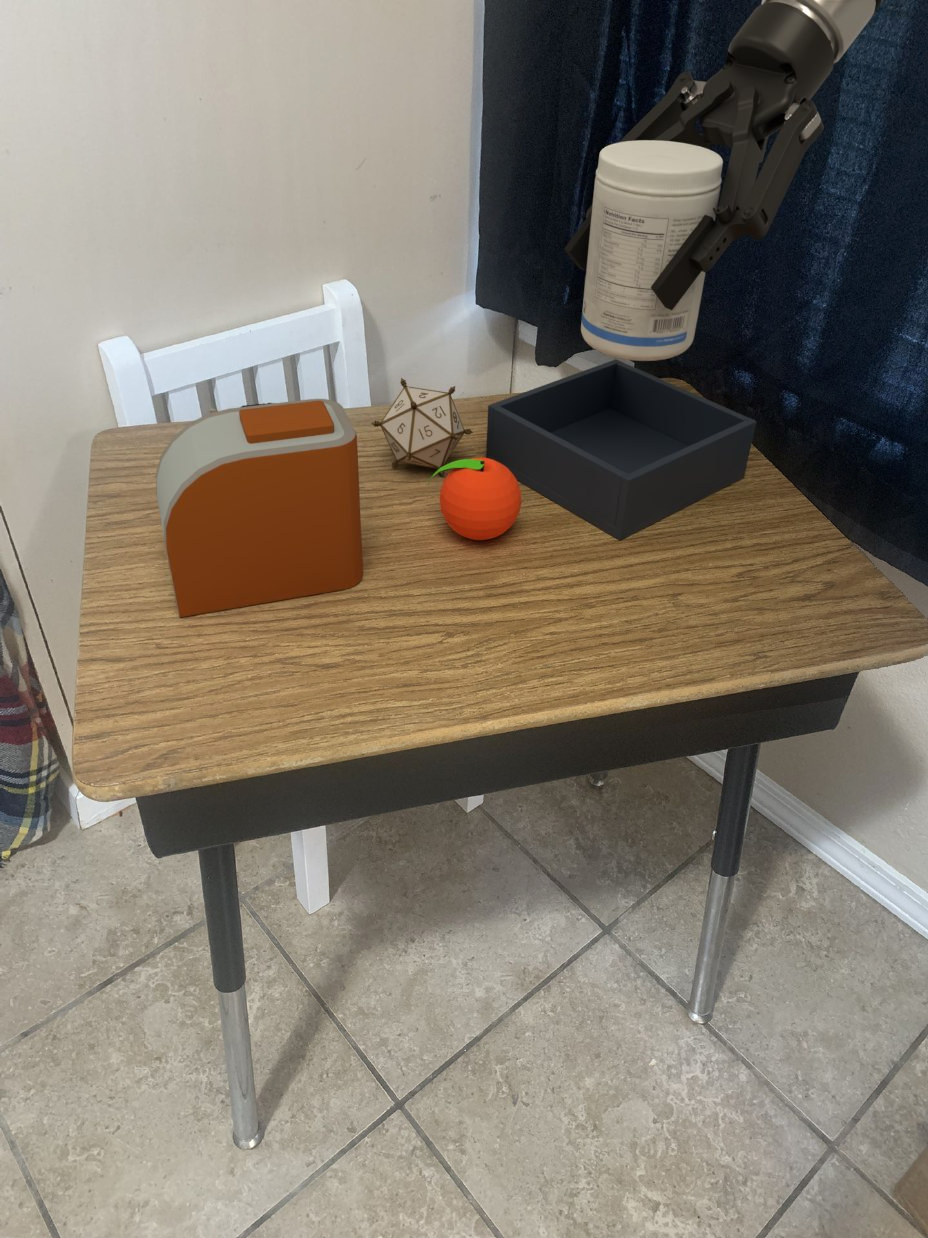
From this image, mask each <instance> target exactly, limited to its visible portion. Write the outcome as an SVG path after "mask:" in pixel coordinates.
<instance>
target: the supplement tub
mask: <svg viewBox="0 0 928 1238" xmlns="http://www.w3.org/2000/svg"><path fill="white" fill-rule="evenodd" d="M597 163H598V164H597V168H596V170H595V178H594V187H593V188H594V189H593V197H592V204H593V206H592V217H591V227H590V238H589V248H588V259H587V269H586V271H585V278H584V290H583V301H582V302H583V303H582V309H581V310H582V312H581V324H580V332H581V335H582V338H583V339H584V342H586V344H588V346H590V347H591V348H592V349H594V350H595V351H598V352H599V353H601V354H604V355H606V356H610V357H613V358H617V359H621V360H627V361H637V362H652V361H662V360H667V359H671V358H675V357H677V356H679V355H681V354H683V353H684V352H686V351H687V350H688V349H689V348H690V347H691V345H692V344H693V342H694V339H695V334H696V329H697V324H698V318H699V313H700V306H701V300H702V295H703V289H704V283H705V280H706V279H705V278H706V273H705V272H702V271H701V273H700V274H699V275H698V277H697V278H696V279H695V281H694V282H693V283H692V285H691V286H690V287H689V289H688V290H687V291H686V293H685V294H684V295H683V297H682V298H681V299H680V301H679V302H678V303H677V305H676V306H675V307H674V309H673V310H670V309H667V308H665V307H664V305H663V304H662V302H661V301H660V300H659V298H658V297H657V296H656V294H655V293H654V291H653V290H652V289H651V286H652V285H653V283H654V282H655V281H656V279H657V278H658V277H659V275H660V274H661V273H662V271H663V270H664V269H665V267H666V266H667V265H668V263H669V262H670V260H671V259H672V258H673V256H674V255H675V254H676V252H677V251H678V250H679V248H680V247H681V246H682V244H683V243H684V242H685V240H686V239H687V238H688V236H689V235H690V234H691V232H692V231H693V230H694V229H695V228H696V226H697V225H698V224H699V222H700V221H701V220H702V218H703V217H704V215H708V216H710V217H712V218H713V219H714V221H715V220H716V215H715V213H714V211H713V208H715V209H716V211H718V210H717V208H716V207H718V206H719V200H720V195H721V193H720V192H721V184H722V181H723V179H722V171H723V166H724V165H723V164H724V161H723V158H722V157H721V155H720V154H719V153H717V152H715V151H713V150H711V149H709V148H707V149H706V148H703V147H699V146H695V145H691V144H686V143H679V142H672V141H657V140H638V141H626V142H620V141H618V142H616V143H612V144H609V145H606V146H604V148H602V149H601V150H600V152H599V156H598V162H597ZM715 222H716V221H715Z"/></svg>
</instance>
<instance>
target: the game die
mask: <svg viewBox="0 0 928 1238" xmlns="http://www.w3.org/2000/svg"><path fill="white" fill-rule="evenodd" d="M399 384H400V385H401V386H402V387H403V388H402V389H401V391H400V392H399V394H398V395H397V397H396V398H395V400H394V401H393V403H392V404H391V406H390V407H389V409H388V410H387V412H386V413H385V415H384V417H382V419H381V421H379V420H377V421H376V420H374V421H372V422H370V424H371V425H372V426H373V427H377V428H378V427H380V428H381V430H382V433H383V435H384V436H385V437H384V438H385V439H386V441H387V443H388V446H389V448H390V450H391V452H392V454H393V456H394V459H395V460H393V461H392V462H391V469H393V468H397V467H398V466H399V463H402V464H407V465H414V466H418V467H419V466H420V467H425V468H431V469H436V470H438V469H439V468H441V467H443V466H445V465H446V462H447V461H448V460H449V458H450V456H451V455H452V453H453V452H454V450H455V449H456V447H457V446H458V444H459V443H460V441H461V440H462V439H463V436H464V434H465V435H468V436H470V435H471V434H473V433H474V431H473V430H471V428H466V429H465V428H464V425H463V423H462V420H461V417H460V414H459V412H458V410H457V407H456V404H455V402H454V399H453V397H452V395H453V394H454V393H455V392H456V385H454V386H451V387H449V389H448V392H447V391H442V390H441V391H440V390H434V389H427V388H420V387H414V386H408V384H407V381H406V379H404V378H402V377H400V382H399ZM439 475H440V476H442V477H443V478H446V470H443V471H440V472H439Z"/></svg>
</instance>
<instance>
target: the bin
mask: <svg viewBox="0 0 928 1238" xmlns="http://www.w3.org/2000/svg"><path fill="white" fill-rule="evenodd" d="M487 405H488V406H487V423H486V425H487V426H486V445H485V446H486V447H485V448H486V449H485V458H489V459H492V460H495V461H497V462H499V463H501V464H503V465H504V466H506V467H507V468H508V469H509V470H510V471H511V472H512V474H513V475H514V476H515V478H516V479H517V482H518V483H520V484H522V485H524V486H526V487H527V488H530V489H531V490H533V491H534V492H537V493H538V494H540V495H541V496H543V497H545V498H546V499H548V500H550V501H552V502H553V503H555V504H557V505H559V506H560V507H562V508H564V509H565V510H567V511H568V512H570V513H572V514H574V515H575V516H577V517H579V518H581V519H582V520H584V521H586V522H588V523H589V524H591V525H592V526H595V527H596V528H598V529H600V530H601V531H603V532H604V533H606V534H607V535H610V536H611V537H613V538H615V539H617V540H618V541H622V540H624V539H626V538H627V537H630V536H632V535H634V534H637V533H638V532H640V531H642V530H644V529H646V528H648V527H650V526H653V525H654V524H656V523H658V522H660V521H661V520H664V519H666V518H667V517H670V516H671V515H674V514H676V513H678V512H679V511H682V510H683V509H685V508H687V507H689V506H692V505H693V504H695V503H697V502H699V501H701V500H703V499H705V498H707V497H709V496H711V495H713V494H715V493H716V492H719V491H721V490H723V489H724V488H727V487H729V486H731V485H733V484H735V483H736V482H738V481H740V480H742V479H744V478H745V476H746V475H745V474H746V470H747V467H748V461H749V458H750V457H749V456H750V454H751V453H750V452H751V448H752V444H753V439H754V435H755V431H756V427H757V422H758V421H756V420H755V419H752V418H750V417H748V416H747V415H744V414H741V413H740V412H739V413H738V412H737V411H735V410H731V409H730V408H727V407H725V406H724V405H721V404H718V403H716V402H714V401H713V400H709V399H707V398H705V397H703V396H700V395H698V394H696V393H693V392H692V391H690V390H689V391H688V390H687V389H684V388H683V387H680V386H678V385H675V384H673V383H671V382H668V381H666V380H664V379H662V378H660V377H658V376H655V375H653V374H650V373H648V372H646V371H644V370H641V369H639V368H636V367H634V366H633V365H630V364H628V363H626V362H623V361H621V360H618V358H617V359H612V360H609V361H607V362H604V363H601V364H599V365H596V366H593V367H591V368H587V369H585V370H582V371H579V372H577V373H573V374H571V375H568V376H566V377H562V378H560V379H557V380H554V381H552V382H548V383H546V384H543V385H540V386H538V387H535V388H533V389H530V390H526V391H523V392H522V393H519V394H516V395H513V396H510V397H507V398H504V399H502V400H499V401H497V402H494V403H491V404H487Z"/></svg>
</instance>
